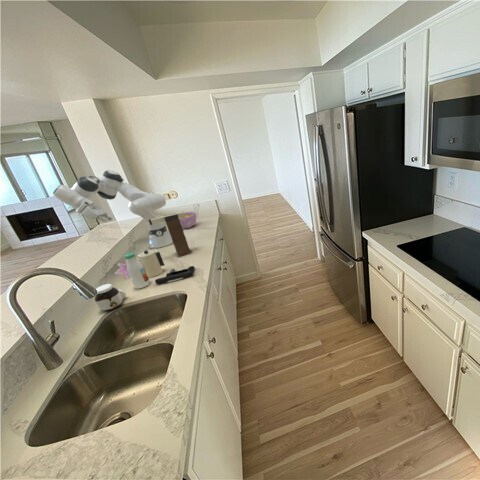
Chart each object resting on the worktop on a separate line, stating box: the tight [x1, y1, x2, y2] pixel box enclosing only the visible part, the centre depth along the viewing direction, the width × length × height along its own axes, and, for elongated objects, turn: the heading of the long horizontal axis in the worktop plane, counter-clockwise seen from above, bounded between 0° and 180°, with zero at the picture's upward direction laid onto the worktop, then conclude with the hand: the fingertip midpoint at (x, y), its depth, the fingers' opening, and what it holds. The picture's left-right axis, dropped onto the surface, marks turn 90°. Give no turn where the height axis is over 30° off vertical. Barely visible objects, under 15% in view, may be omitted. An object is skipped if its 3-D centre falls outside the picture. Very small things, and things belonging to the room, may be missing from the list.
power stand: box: [164, 212, 191, 258], centre depth 185 cm, size 10×8×29 cm
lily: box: [114, 259, 130, 279], centre depth 166 cm, size 12×12×10 cm
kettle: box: [136, 249, 165, 278], centre depth 162 cm, size 14×9×16 cm, turn 125°
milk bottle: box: [124, 252, 151, 290], centre depth 149 cm, size 8×8×20 cm
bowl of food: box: [179, 211, 197, 230], centre depth 246 cm, size 20×20×12 cm
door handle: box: [154, 265, 195, 285], centre depth 159 cm, size 3×20×16 cm
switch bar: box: [148, 210, 186, 225], centre depth 179 cm, size 3×22×3 cm, turn 125°
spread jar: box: [94, 283, 127, 312], centre depth 135 cm, size 12×11×12 cm
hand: (109, 220), depth 165 cm, fingers open, 8 cm apart
